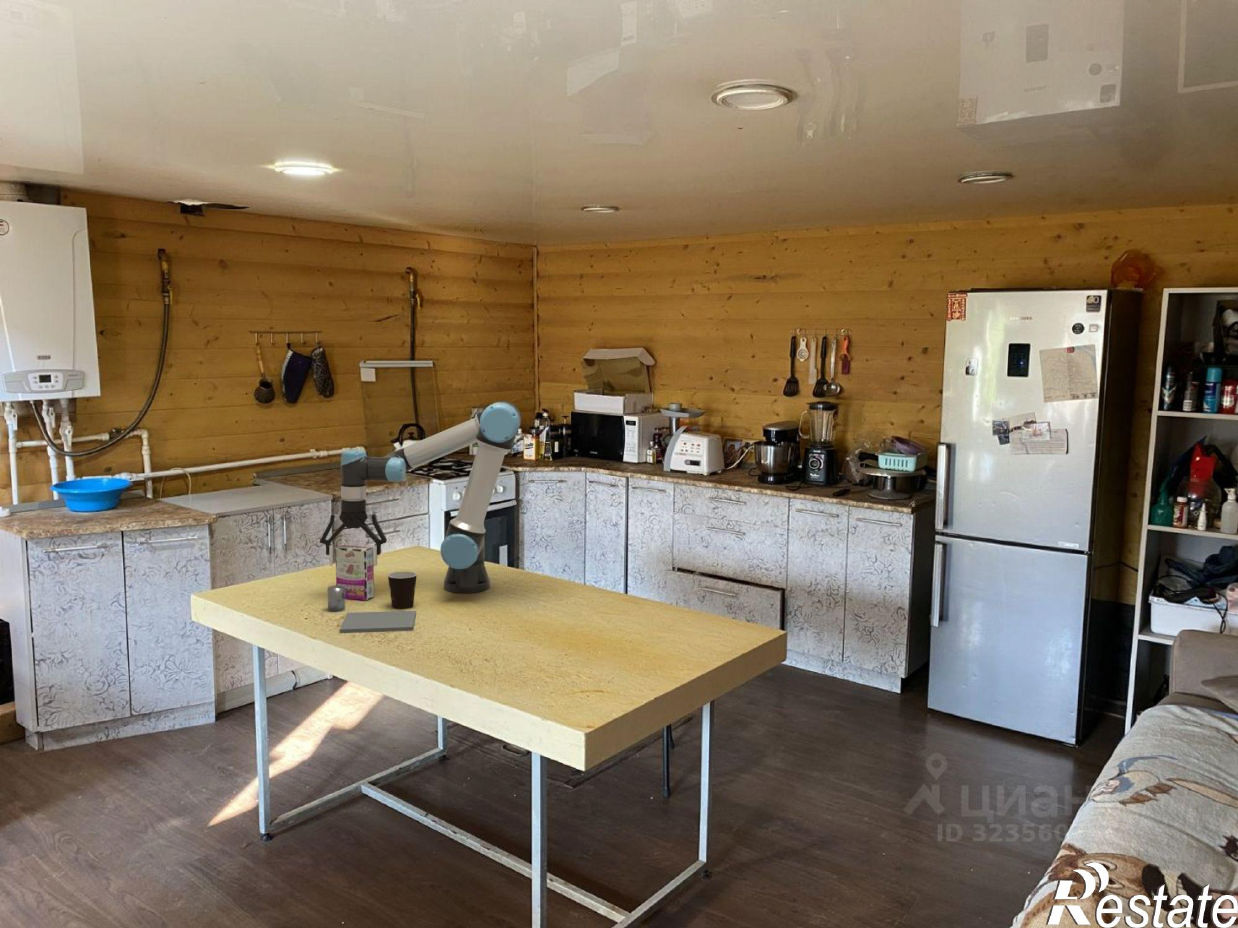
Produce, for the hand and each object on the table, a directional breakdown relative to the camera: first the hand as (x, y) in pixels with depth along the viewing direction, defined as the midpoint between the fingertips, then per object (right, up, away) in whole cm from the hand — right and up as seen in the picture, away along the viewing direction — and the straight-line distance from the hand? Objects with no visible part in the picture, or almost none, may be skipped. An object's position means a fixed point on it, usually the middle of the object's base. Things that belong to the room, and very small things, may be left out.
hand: (353, 565), depth 284 cm
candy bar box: (0, -11, +1) cm, 11 cm away
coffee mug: (+18, -12, -6) cm, 22 cm away
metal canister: (-2, -12, -12) cm, 17 cm away
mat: (+15, -14, -24) cm, 32 cm away
